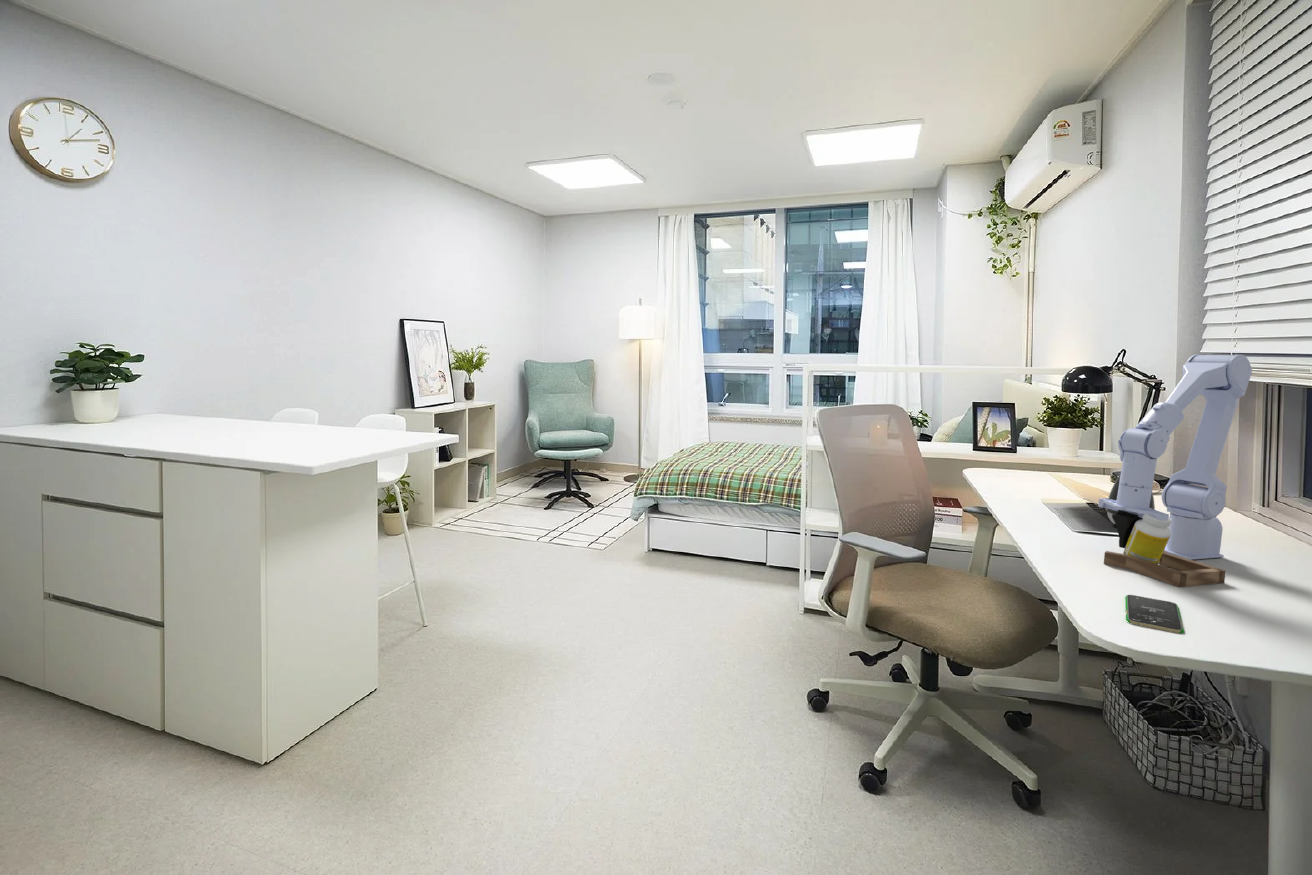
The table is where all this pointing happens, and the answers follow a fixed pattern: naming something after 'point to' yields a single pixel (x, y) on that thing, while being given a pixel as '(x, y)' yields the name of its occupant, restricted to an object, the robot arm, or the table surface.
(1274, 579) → the table surface
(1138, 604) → the smartphone
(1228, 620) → the table surface
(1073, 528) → the table surface
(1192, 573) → the wooden u-shaped bracket
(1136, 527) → the pill bottle
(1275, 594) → the table surface
